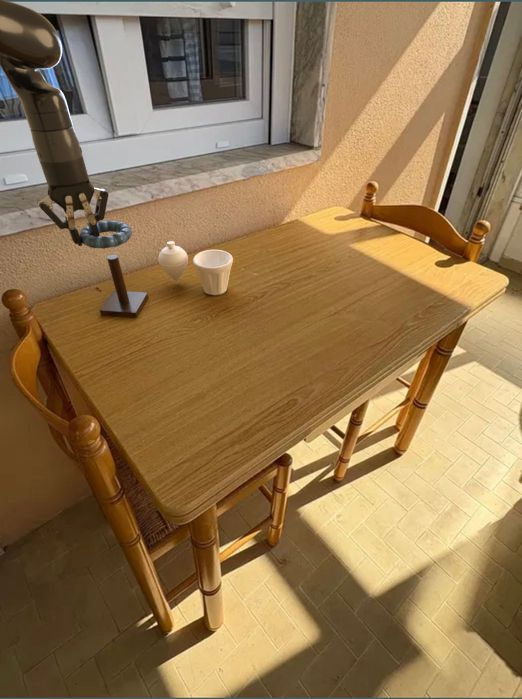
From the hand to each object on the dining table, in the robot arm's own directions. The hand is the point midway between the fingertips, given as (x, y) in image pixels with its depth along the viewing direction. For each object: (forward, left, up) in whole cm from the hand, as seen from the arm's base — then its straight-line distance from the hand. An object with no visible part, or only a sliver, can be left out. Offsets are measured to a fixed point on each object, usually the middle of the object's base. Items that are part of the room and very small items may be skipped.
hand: (87, 242), depth 82 cm
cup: (+24, +13, -18) cm, 33 cm away
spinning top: (+13, +15, -18) cm, 27 cm away
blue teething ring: (+3, +3, +1) cm, 4 cm away
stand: (+3, +3, -18) cm, 19 cm away
